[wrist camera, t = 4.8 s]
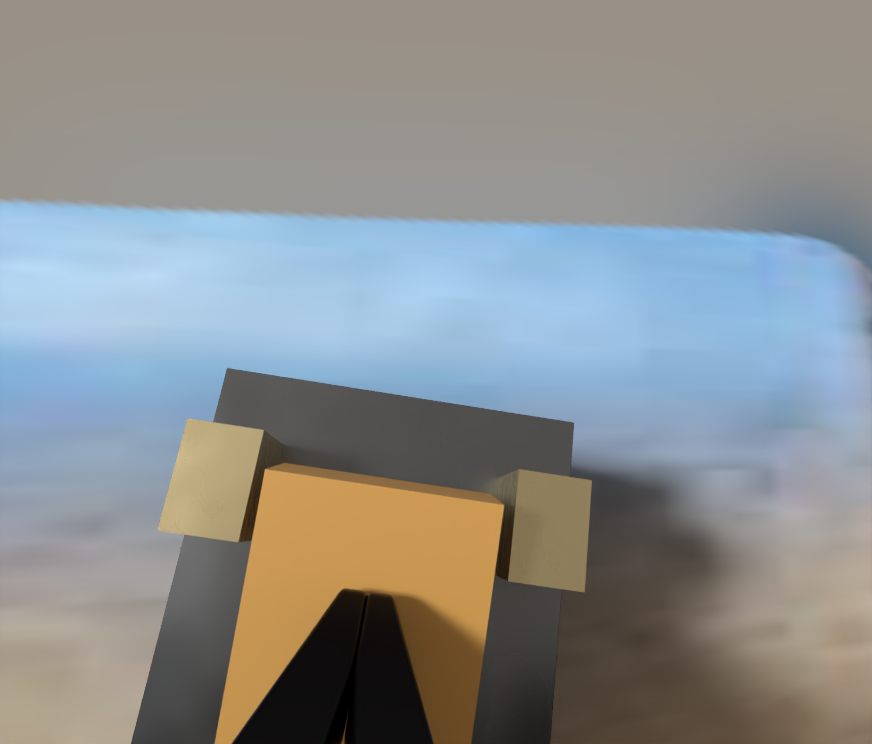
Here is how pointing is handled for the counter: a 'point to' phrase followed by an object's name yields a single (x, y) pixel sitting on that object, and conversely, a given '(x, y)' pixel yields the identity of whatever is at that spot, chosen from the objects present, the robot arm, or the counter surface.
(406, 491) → the tan rectangular box
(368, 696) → the robot arm
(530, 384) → the counter surface
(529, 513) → the grey block with pegs
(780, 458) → the counter surface
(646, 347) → the counter surface
